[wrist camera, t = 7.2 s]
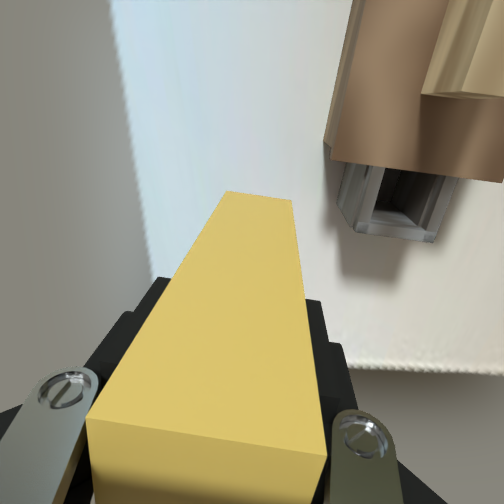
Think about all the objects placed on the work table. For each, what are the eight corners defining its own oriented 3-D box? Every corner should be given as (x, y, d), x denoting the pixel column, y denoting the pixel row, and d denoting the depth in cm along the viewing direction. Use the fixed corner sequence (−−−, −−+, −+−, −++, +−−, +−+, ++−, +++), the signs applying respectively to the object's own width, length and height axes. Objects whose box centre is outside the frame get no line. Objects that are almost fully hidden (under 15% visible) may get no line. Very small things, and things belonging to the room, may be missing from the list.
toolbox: (537, -95, 26) (635, -170, 19) (422, 215, 37) (457, 242, 30) (377, -116, 26) (414, -198, 19) (310, 199, 38) (318, 222, 30)
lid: (634, -173, 20) (851, -341, 12) (460, 239, 31) (516, 282, 24) (402, -199, 20) (475, -379, 12) (314, 218, 31) (324, 254, 24)
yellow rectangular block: (291, 200, 20) (327, 456, 5) (280, 258, 22) (284, 577, 7) (226, 190, 20) (85, 417, 5) (220, 249, 22) (100, 546, 7)
